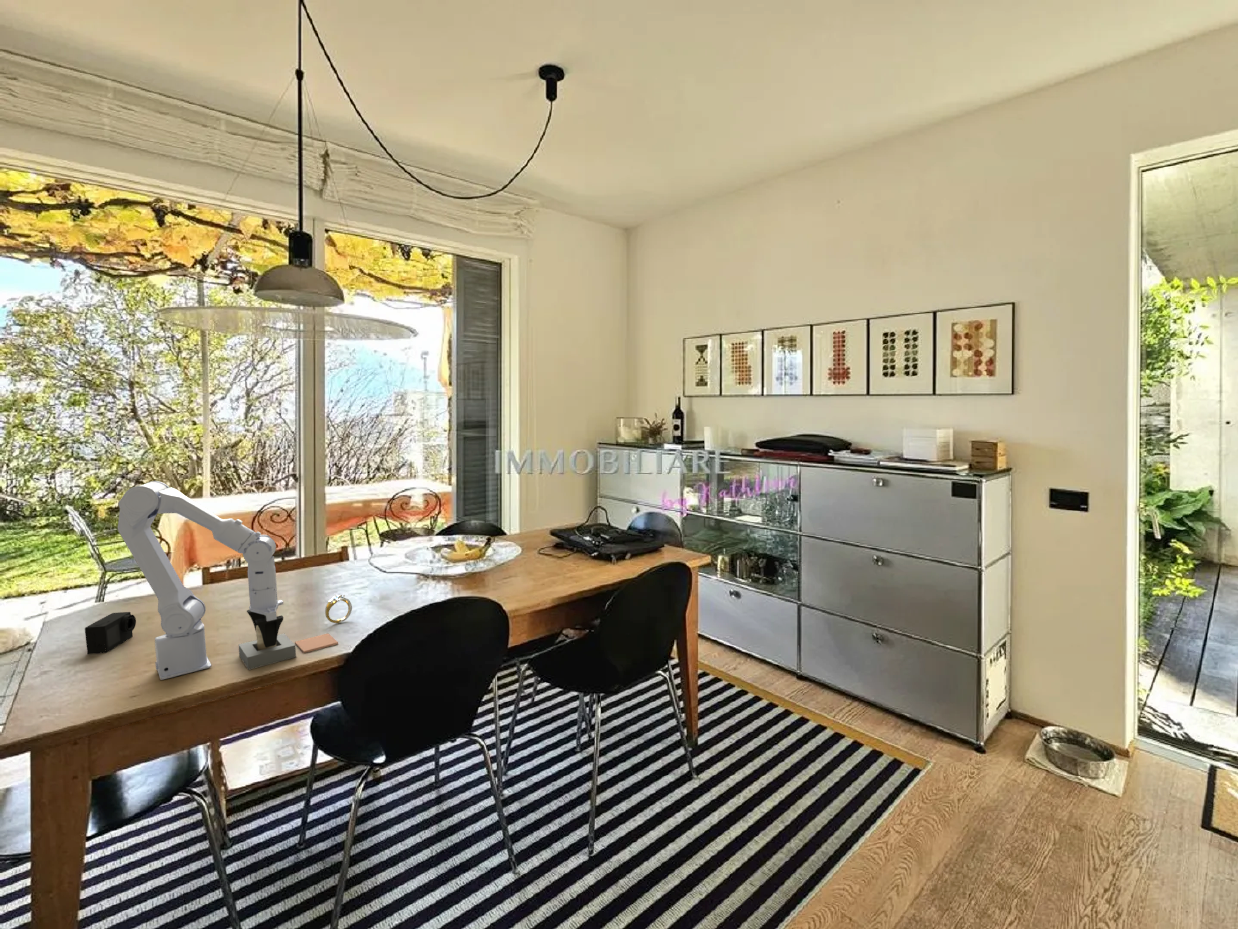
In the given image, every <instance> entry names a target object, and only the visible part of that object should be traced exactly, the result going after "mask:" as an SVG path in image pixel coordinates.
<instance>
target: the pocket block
mask: <svg viewBox="0 0 1238 929" xmlns="http://www.w3.org/2000/svg"><path fill="white" fill-rule="evenodd" d="M276 645H277V646H276V647H272V648H268V649H264V650H260V651H258V650H257V639H255V640H251V641H248V642H247V641H246V642H243V643H239V644H238V654H239V658H240V659H241V662H243V664H244V665H245V668H247V670H248V671H249V670H253V669H256V668H261V667H264V666H267V665H272V664H275V663H276V664H277V663H279V662H282V661H285V660H286V661H287V660H289V659H293V658H297V652H296V648H297V647H296V644H295V642H293V641H292V640H291V639H290V637H289V636H288V635H287V634H286V633H284V632H283V633H280V634H279V633H278V636H277V641H276Z"/></svg>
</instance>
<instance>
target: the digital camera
mask: <svg viewBox="0 0 1238 929" xmlns="http://www.w3.org/2000/svg"><path fill="white" fill-rule="evenodd" d="M136 624H137V619H136V616H135V615H134V614H131V612H130V611H122V612H121V611H119V612H112V613H111V614H108V615H106V616H104V617H102V618H100V619H99V620H97V621H95V622H92V623H91V624H90V625H87V626H86V627H84V633H85V645H86V652H87V655H95V654H107V653H109V652H110V651H112V650H113V649H116V648H117V647H118V646H120V645H122V644H123V643H125V642H126V641H128V640H130V639H132V638H133V636H134V634H133V631H134V629H135V627H136Z"/></svg>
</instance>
